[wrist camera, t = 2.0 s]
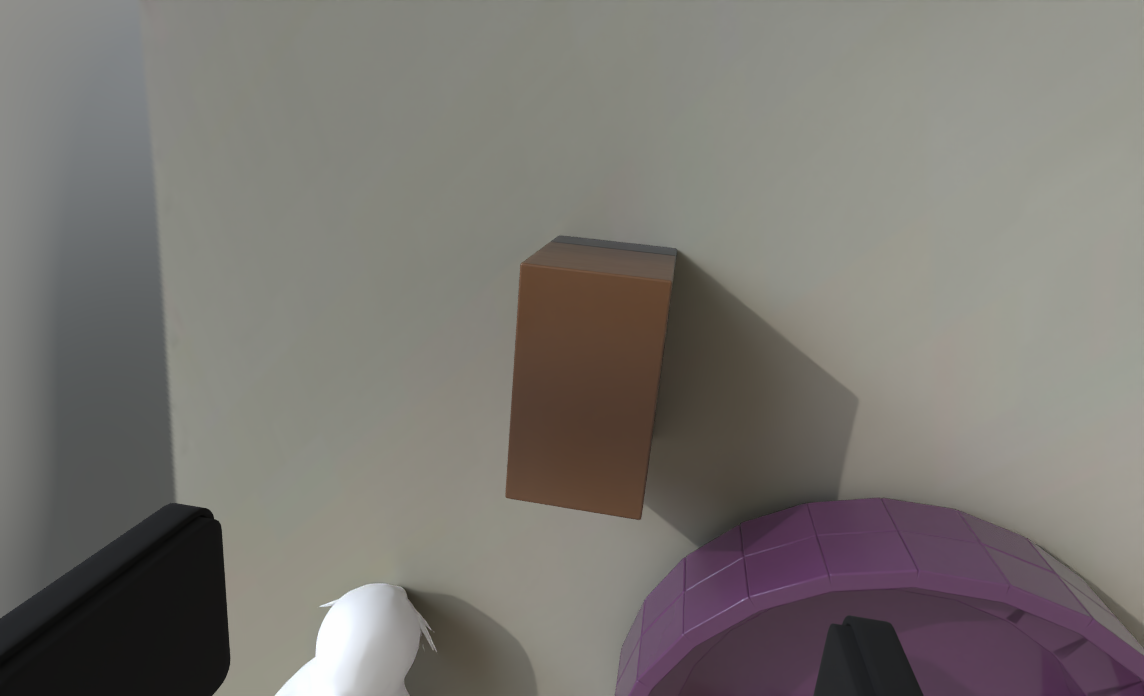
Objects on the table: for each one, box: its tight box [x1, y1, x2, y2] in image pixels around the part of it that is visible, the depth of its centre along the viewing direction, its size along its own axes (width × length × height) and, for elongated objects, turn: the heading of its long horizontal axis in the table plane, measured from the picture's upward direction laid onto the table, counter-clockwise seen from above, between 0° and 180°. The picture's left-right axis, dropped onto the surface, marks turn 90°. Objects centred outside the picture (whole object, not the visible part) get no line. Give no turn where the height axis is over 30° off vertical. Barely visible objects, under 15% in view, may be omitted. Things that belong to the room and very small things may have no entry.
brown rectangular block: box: [505, 236, 677, 520], centre depth 22 cm, size 7×4×6 cm, turn 174°
